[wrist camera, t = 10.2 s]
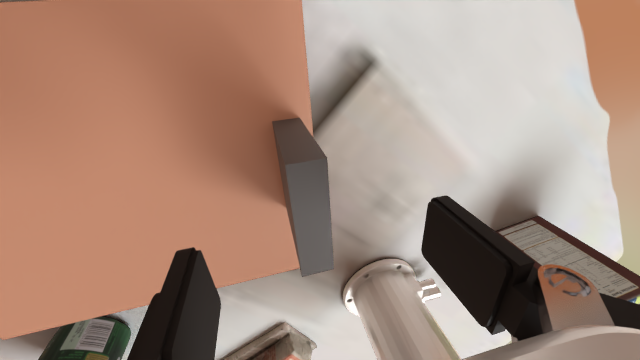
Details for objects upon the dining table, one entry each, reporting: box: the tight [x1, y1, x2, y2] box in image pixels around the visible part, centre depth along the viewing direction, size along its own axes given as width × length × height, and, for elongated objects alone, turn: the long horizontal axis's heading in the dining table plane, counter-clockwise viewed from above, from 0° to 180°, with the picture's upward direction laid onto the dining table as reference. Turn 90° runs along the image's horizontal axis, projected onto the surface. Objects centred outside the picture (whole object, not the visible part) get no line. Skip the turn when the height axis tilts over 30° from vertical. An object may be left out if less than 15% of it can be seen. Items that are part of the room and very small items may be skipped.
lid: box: [0, 0, 334, 340], centre depth 12 cm, size 22×18×7 cm
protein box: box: [496, 216, 640, 304], centre depth 41 cm, size 10×15×16 cm
